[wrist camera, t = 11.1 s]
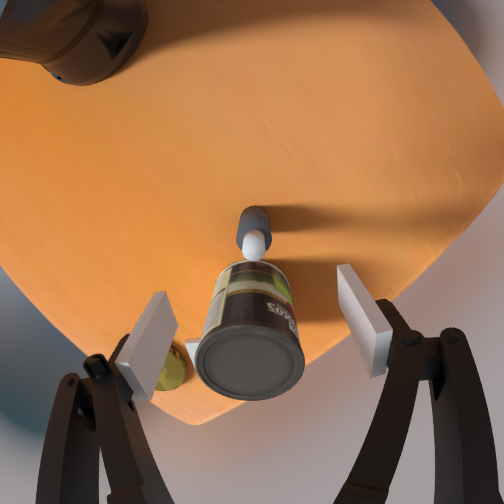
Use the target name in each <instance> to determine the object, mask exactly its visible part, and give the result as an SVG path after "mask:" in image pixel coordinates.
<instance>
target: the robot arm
mask: <svg viewBox="0 0 504 504" xmlns="http://www.w3.org/2000/svg"><path fill="white" fill-rule="evenodd" d="M146 22H147V14H146V9H145V7H144V5H143V3H142V2H141V1H140V0H0V58H8V59H15V60H22V61H28V62H34V63H38V64H41V65H42V66H43V67H44V68H45V69H46V70H47V71H48V72H50V73H51V74H52V75H53V76H54V77H55V78H56V79H57V80H59V81H61V82H63V83H66V84H71V85H76V86H85V85H90V84H94V83H96V82H99V81H101V80H103V79H105V78H106V77H108V76H110V75H111V74H113V73H114V72H115V71H116V70H118V69H119V68H120V67H121V66H122V65H123V64H124V63H125V62H126V61H127V60H128V59H129V58H130V56H131V55H132V54H133V52H134V51H135V50H136V48H137V46H138V45H139V43H140V41H141V39H142V37H143V34H144V31H145V28H146ZM337 278H338V304H339V306H340V308H341V311H342V313H343V315H344V317H345V319H346V322H347V324H348V326H349V328H350V331H351V333H352V335H353V338H354V340H355V342H356V344H357V347H358V349H359V351H360V354H361V356H362V358H363V361H364V363H365V366H366V368H367V371H368V373H369V375H370V378H372V377H376V376H379V375H383V374H385V372H386V367H388V369H389V371H388V375H387V378H386V381H385V384H384V388H383V391H382V394H381V397H380V400H379V403H378V406H377V409H376V412H375V415H374V417H373V420H372V423H371V426H370V428H369V431H368V433H367V436H366V438H365V441H364V443H363V446H362V448H361V450H360V453H359V455H358V457H357V459H356V462H355V464H354V466H353V468H352V470H351V472H350V474H349V476H348V479H347V480H346V482H345V483H344V485H343V486H342V488H341V490H340V492H339V494H338V496H337V497H336V499H335V501H334V503H333V504H385V501H386V499H387V496H388V493H389V486H390V484H391V481H392V479H393V476H394V473H395V471H396V468H397V465H398V462H399V459H400V456H401V453H402V450H403V446H404V443H405V439H406V436H407V433H408V429H409V425H410V421H411V417H412V413H413V409H414V403H415V399H416V394H417V389H418V383H419V381H421V380H428V381H429V387H430V396H431V404H432V413H433V424H434V441H435V493H434V504H504V503H503V500H502V497H501V495H500V493H499V487H498V471H497V461H496V452H495V445H494V438H493V433H492V427H491V422H490V417H489V412H488V408H487V403H486V399H485V396H484V392H483V388H482V384H481V381H480V377H479V374H478V371H477V368H476V364H475V361H474V359H473V356H472V353H471V350H470V347H469V344H468V341H467V339H466V336H465V334H464V333H463V332H462V331H461V330H460V329H457V328H446V329H444V330H443V331H442V332H441V334H440V337H433V338H425V337H424V336H423V335H422V334H421V333H420V332H418V331H415V330H411V329H410V327H409V326H408V324H407V323H406V322H405V320H404V319H403V317H402V316H401V315H400V313H399V312H398V310H396V308H395V306H394V305H393V303H391V302H390V301H388V300H386V299H381V300H376V301H374V299H373V298H372V296H371V295H370V293H369V292H368V290H367V289H366V287H365V286H364V284H363V283H362V281H361V280H360V279H359V277H358V276H357V274H356V273H355V271H354V270H353V268H352V267H351V266H350V264H349V263H347V264H342V265H337ZM177 328H178V324H177V321H176V319H175V316H174V313H173V311H172V308H171V305H170V302H169V300H168V297H167V294H166V291H162V292H155V293H154V295H153V296H152V298H151V300H150V301H149V303H148V305H147V306H146V308H145V310H144V311H143V313H142V315H141V316H140V318H139V320H138V322H137V323H136V325H135V327H134V328H133V330H132V332H131V334H126V335H125V336H124V337H123V338H122V339H121V340H120V341H119V343H118V345H117V347H116V348H115V350H114V352H113V353H112V355H111V357H110V359H109V360H108V362H107V360H106V358H105V357H104V355H102V354H94V355H91V356H89V357H88V358H87V359H86V360H85V361H84V363H83V368H84V369H85V371H86V372H87V374H88V375H89V378H85V379H80V377H79V376H78V374H76V373H70V374H67V375H65V376H64V377H63V378H62V379H61V381H60V384H59V387H58V390H57V394H56V397H55V401H54V405H53V408H52V412H51V415H50V419H49V424H48V428H47V432H46V436H45V441H44V446H43V451H42V457H41V463H40V469H39V476H38V484H37V493H36V504H99V452H100V448H101V453H102V457H103V461H104V466H105V469H106V474H107V477H108V481H109V485H110V488H111V494H109V495H108V496H107V503H108V504H175V503H174V502H173V500H172V498H171V496H170V494H169V492H168V489H167V487H166V485H165V483H164V481H163V479H162V476H161V474H160V472H159V470H158V467H157V465H156V462H155V460H154V458H153V455H152V453H151V450H150V447H149V445H148V442H147V439H146V437H145V434H144V431H143V428H142V425H141V422H140V420H139V416H138V413H137V410H136V407H135V404H134V402H133V400H132V399H131V397H132V395H133V393H134V394H135V396H136V397H137V399H138V400H150V401H151V399H152V396H153V393H154V390H155V387H156V384H157V382H158V379H159V376H160V373H161V371H162V368H163V365H164V362H165V360H166V357H167V354H168V351H169V349H170V346H171V343H172V341H173V338H174V336H175V333H176V330H177ZM78 410H79V411H80V412H79V413H78Z"/></svg>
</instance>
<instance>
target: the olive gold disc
mask: <svg viewBox="0 0 504 504" xmlns="http://www.w3.org/2000/svg"><path fill="white" fill-rule="evenodd" d="M186 371H187V365H186V364H185V362H184V360H183V358H182V357H181V355H180V354H179V353H178V352H177V351H176V350H175V349H174V348H173V347H171V346H170V349H169V351H168V354H167V357H166V360H165V362H164V365H163V368H162V371H161V373H160V376H159V379H158V382H157V384H156V387H155V390H157V391H170V390H174V389H176V388H178V387H179V386H180V385H181V384H182V383H183V381H184V378H185V375H186Z"/></svg>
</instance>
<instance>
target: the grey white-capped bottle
mask: <svg viewBox="0 0 504 504" xmlns="http://www.w3.org/2000/svg"><path fill="white" fill-rule="evenodd" d="M236 241H237V245H238V247H239V248H240V249H241V250H242V253H243V255H244V257H245V258H246V259H247V260H250V261H258V260H260V259H262V258H263V256H264V255H265V252H266V251H267V250H268V248H269V247H270V245H271V242H272V235H271V229H270V223H269V217H268V214H267V212H266V211H265V210H264V209H263V208H261V207H259V206H250V207H248V208H246V209H245V210H244V211H243V212H242V214H241V217H240V222H239V227H238V231H237V237H236Z"/></svg>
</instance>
